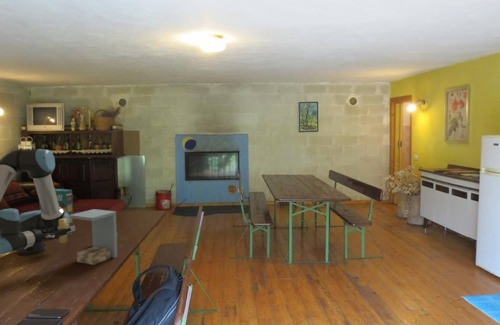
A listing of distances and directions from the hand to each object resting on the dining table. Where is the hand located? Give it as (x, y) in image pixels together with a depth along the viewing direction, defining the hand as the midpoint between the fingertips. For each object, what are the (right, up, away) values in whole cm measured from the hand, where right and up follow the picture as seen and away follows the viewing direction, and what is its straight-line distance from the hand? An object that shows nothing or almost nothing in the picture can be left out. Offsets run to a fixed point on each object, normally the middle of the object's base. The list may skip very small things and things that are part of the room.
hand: (71, 227), depth 208 cm
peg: (-2, -7, -4) cm, 8 cm away
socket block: (+10, -18, +5) cm, 21 cm away
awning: (+10, -18, +5) cm, 21 cm away
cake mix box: (-36, -14, +57) cm, 69 cm away
